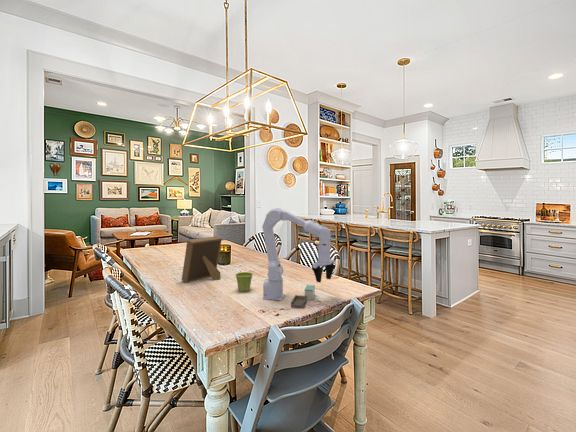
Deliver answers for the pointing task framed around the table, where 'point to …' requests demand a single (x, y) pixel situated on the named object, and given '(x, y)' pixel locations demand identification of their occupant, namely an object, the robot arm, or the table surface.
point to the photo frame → (201, 259)
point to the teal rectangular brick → (310, 292)
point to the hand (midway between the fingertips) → (323, 280)
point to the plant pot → (244, 281)
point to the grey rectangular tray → (298, 301)
